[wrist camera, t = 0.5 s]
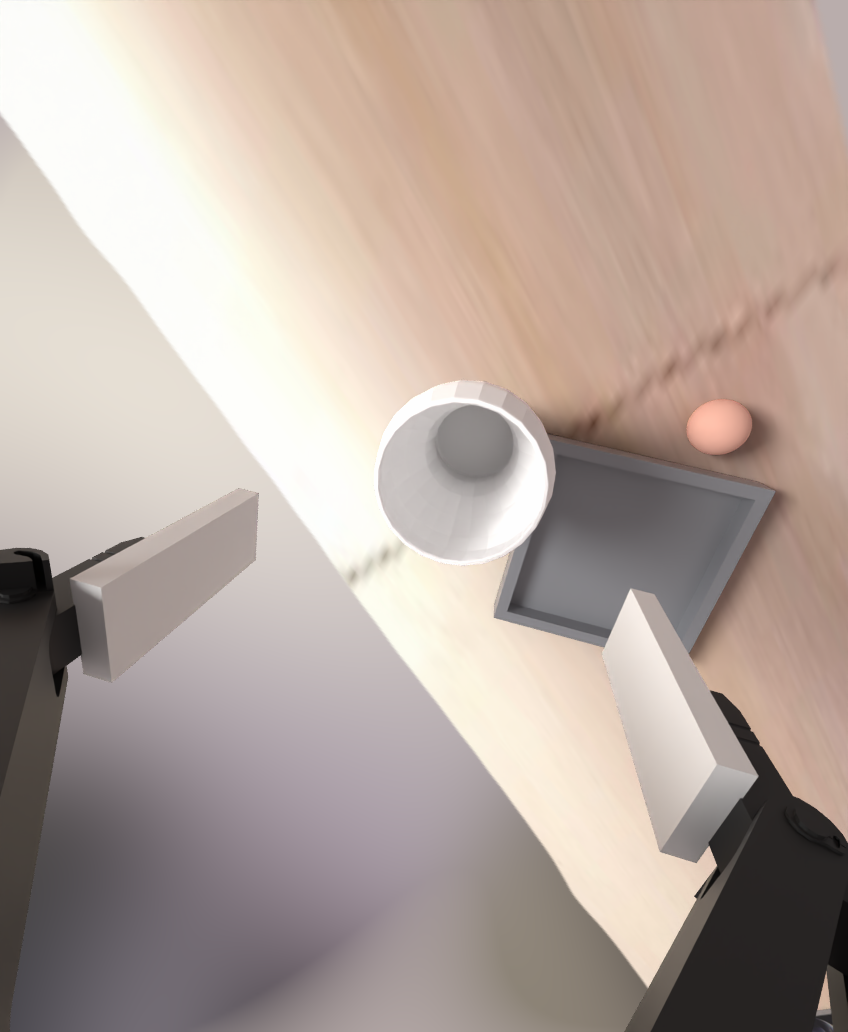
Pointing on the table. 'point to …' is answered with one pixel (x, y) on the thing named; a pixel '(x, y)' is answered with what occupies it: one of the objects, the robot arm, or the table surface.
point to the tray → (628, 543)
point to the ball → (719, 426)
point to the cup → (464, 472)
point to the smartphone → (823, 1021)
